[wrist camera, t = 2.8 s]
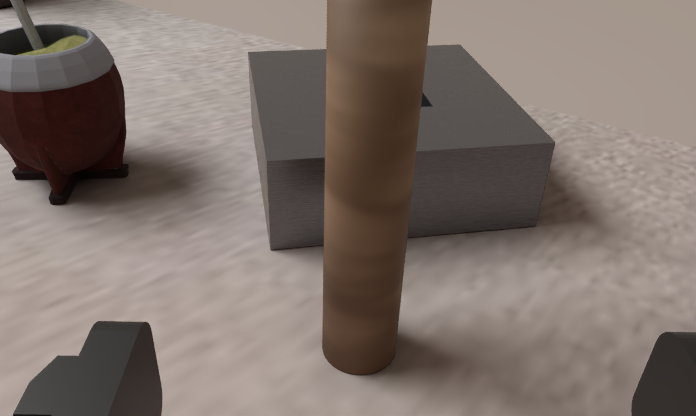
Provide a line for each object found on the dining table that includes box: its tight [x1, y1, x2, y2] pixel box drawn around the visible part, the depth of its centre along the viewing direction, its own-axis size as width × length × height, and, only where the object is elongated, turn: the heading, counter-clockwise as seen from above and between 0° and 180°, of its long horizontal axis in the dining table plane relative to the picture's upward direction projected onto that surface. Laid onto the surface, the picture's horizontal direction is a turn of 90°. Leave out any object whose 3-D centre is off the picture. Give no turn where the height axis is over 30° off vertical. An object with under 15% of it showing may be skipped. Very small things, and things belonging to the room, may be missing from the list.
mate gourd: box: [0, 0, 128, 205], centre depth 32 cm, size 8×8×15 cm
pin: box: [322, 0, 432, 375], centre depth 22 cm, size 3×3×16 cm
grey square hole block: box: [248, 45, 555, 250], centre depth 37 cm, size 14×14×5 cm
